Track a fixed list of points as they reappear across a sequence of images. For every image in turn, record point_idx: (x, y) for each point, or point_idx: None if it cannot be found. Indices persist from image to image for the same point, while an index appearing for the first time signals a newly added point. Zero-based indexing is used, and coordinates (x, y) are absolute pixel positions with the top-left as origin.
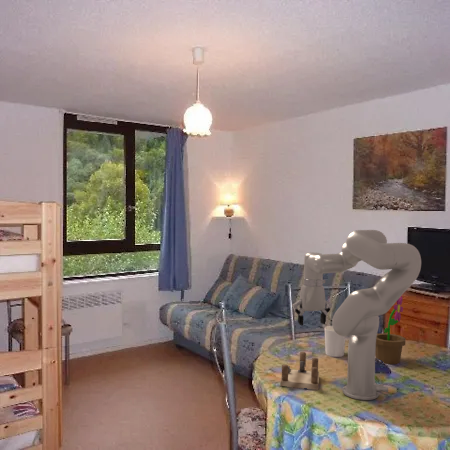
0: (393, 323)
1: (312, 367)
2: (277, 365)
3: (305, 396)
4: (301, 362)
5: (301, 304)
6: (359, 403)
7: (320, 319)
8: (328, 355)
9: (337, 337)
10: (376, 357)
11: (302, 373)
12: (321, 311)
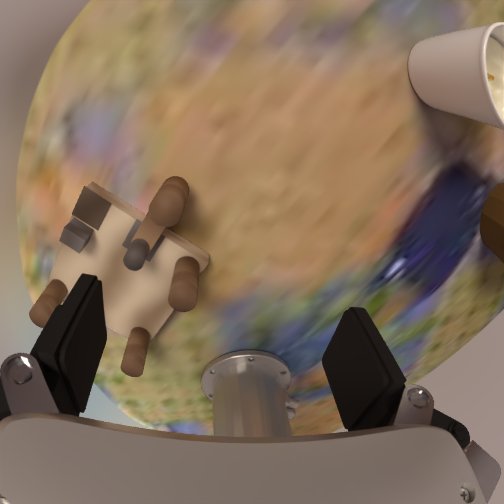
0: None
1: (126, 364)
2: (114, 81)
3: None
4: (126, 266)
5: (27, 484)
6: (206, 405)
7: (358, 330)
8: (408, 71)
9: (480, 116)
10: (492, 201)
11: None
12: (390, 420)
